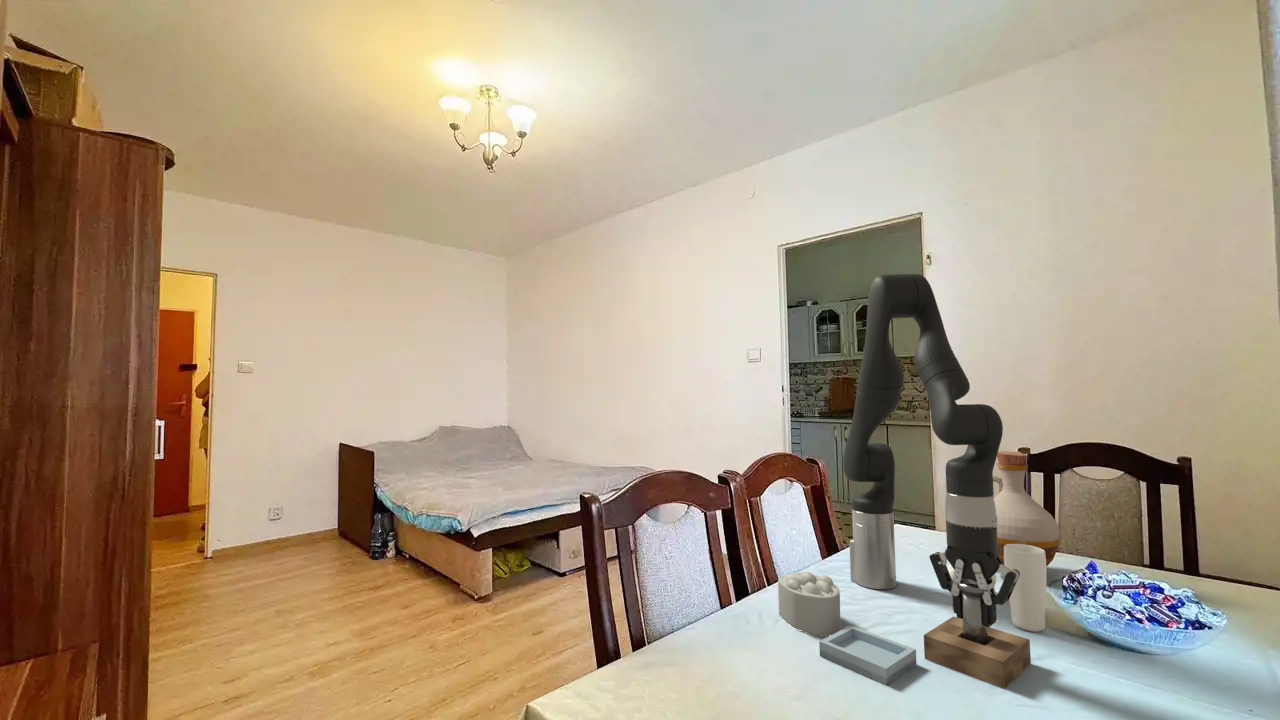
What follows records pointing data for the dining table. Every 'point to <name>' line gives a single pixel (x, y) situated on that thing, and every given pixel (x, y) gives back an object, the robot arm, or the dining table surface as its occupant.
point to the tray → (868, 654)
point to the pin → (973, 612)
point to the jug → (1021, 510)
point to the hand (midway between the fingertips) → (974, 620)
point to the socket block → (978, 653)
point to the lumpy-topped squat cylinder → (810, 603)
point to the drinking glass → (1027, 586)
